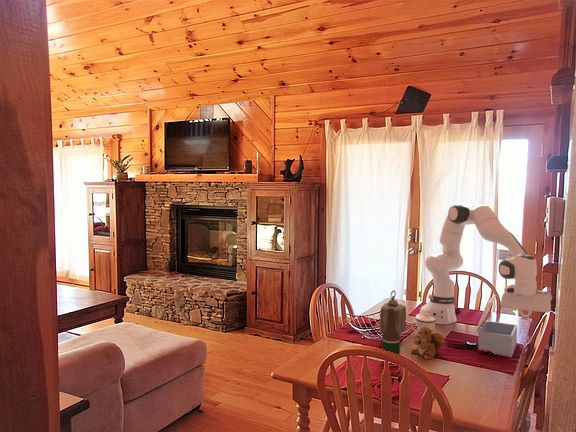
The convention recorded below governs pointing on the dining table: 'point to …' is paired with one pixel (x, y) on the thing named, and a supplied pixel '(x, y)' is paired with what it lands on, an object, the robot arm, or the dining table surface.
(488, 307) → the lid
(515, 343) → the box
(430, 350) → the stuffed squirrel
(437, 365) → the dining table surface
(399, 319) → the brown cowbell
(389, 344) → the beer bottle
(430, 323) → the teacup with lid
